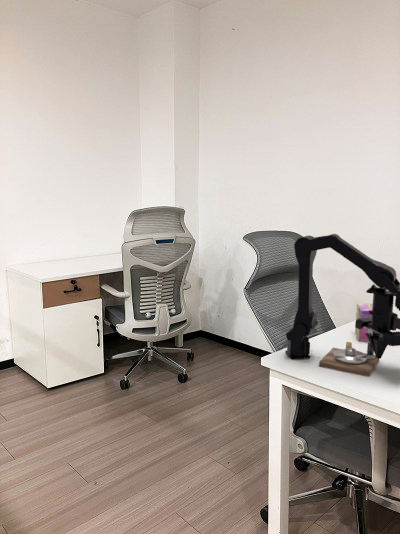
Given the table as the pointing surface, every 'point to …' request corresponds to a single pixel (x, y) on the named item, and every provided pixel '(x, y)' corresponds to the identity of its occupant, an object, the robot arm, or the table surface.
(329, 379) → the table surface
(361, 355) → the flange
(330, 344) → the table surface
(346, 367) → the base plate
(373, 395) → the table surface
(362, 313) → the box
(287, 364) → the table surface
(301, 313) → the robot arm
